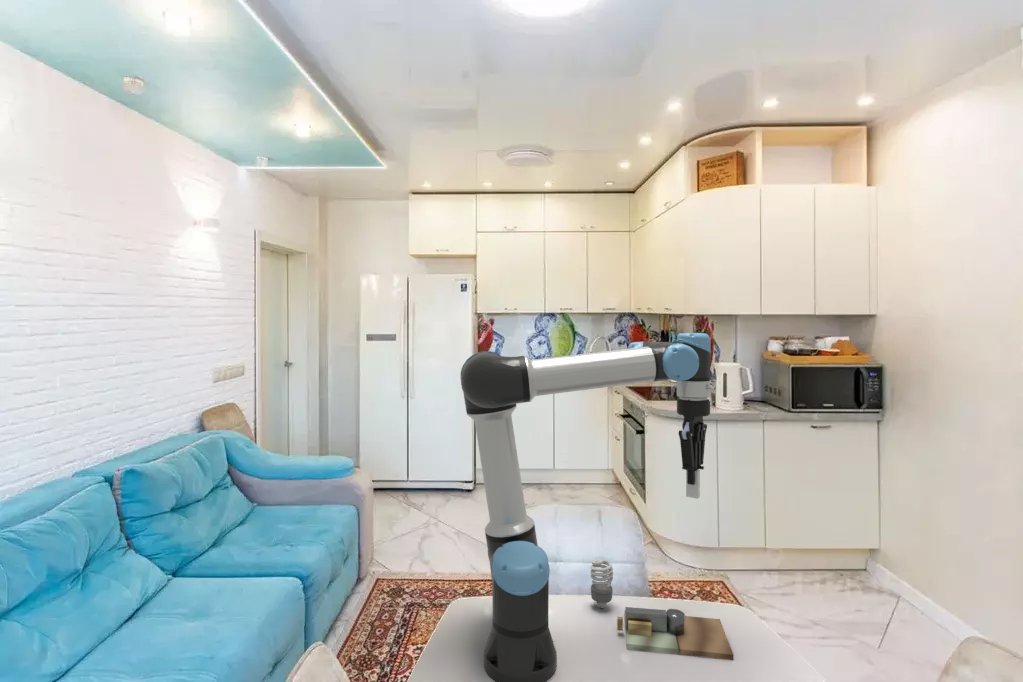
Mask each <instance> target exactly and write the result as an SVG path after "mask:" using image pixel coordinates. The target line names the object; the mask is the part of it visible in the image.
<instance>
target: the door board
mask: <svg viewBox="0 0 1023 682" xmlns="http://www.w3.org/2000/svg"><path fill="white" fill-rule="evenodd" d="M624 617H625V612H624ZM624 617H623V616H617V617H616V620H617V621H616V624H617V625H616V627H617V628H616V630H617V631H623V630H624V629H625V645H626V650H631V651H632V650H633V651H640V652H649V653H657V654H658V653H661V654H669V655H680V656H689V657H699V658H708V659H716V660H725V661H726V660H728V661H734V656H735V655H734V652H733V650H732V648H731V644H730V642H729V640H728V636H727V635H726V632H725V629H724V627H723V624H722V621H721V620H720V618H712V617H711V618H710V617H702V616H690V615H685V623H684V633H683V634H682V635H673V634H671V633H669V632H663V631H651V622H641V621H630V620H628V629H627V628H626V624H625V623H623V622H624V621H623V620H624ZM624 627H625V628H624Z"/></svg>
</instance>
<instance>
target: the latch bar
mask: <svg viewBox="0 0 1023 682" xmlns="http://www.w3.org/2000/svg"><path fill="white" fill-rule="evenodd" d="M624 613H625V616H624V625H625V624H626V628H627V629H628V620H630V621H641V622H651V631H663V632H669V633H671V634H673V635H682V634H683V633H684V623H685V616H686V614H685V613H684V611H683V610H680V609H677V608H669V609H667V610H666V609H658V608H657V609H656V608H644V607H643V608H642V607H632V606H631V607H630V606H625V610H624Z"/></svg>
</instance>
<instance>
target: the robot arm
mask: <svg viewBox="0 0 1023 682" xmlns="http://www.w3.org/2000/svg"><path fill="white" fill-rule="evenodd" d="M711 349H712V348H711V337H710V336H709V335H708V334H707V333H705V332H704V333H703V332H702V333H700V332H699V333H697V332H696V333H695V332H692V333H691V332H686V333H683V332H682V333H680V332H679V333H678V334H677V336H676V340H675V341H642V340H641V341H634V342H631V343H629V344H628V346H627V348H625V349H615V350H607V351H606V350H605V351H598V352H588V353H581V354H572V355H571V354H570V355H569V354H568V355H561V356H552V357H545V358H536V359H535V358H534V359H530V358H529V357H527V356H526V355H518V356H503V355H501V354H500V353H498V352H494V351H491V350H486V351H479V352H476V353H474V354H472V355H470V357H468V358H467V359H466V360H465V362H464V363H463V365H462V367H461V369H460V370H461V371H460V384H461V385H460V386H461V389H462V393H463V398H464V404H465V411H466V415H467V416H468V417H470V418H471V419H472V420H473V421H474V426H475V433H476V439H477V446H478V452H479V459H480V460H479V461H480V464H481V465H480V466H481V471H482V478H483V483H484V490H485V497H486V503H487V509H488V516H489V522H488V523H487V524H486V525H485V527H484V534H485V540H486V547H487V556H488V561H489V566H490V567H489V568H490V577H491V588H492V626H491V629H490V633H489V635H488V639H487V642H486V645H485V648H484V653H483V667H484V670H485V672H486V673H487V675H488V677H490V678H491V679H492V680H494V681H496V682H546V681H547V680H549V679H550V678H551V677H553V676H554V675H555V673H556V670H557V665H558V663H557V661H558V660H557V659H558V655H557V654H558V653H557V650H556V646H555V643H554V639H553V636H552V634H551V631H550V628H549V594H550V593H549V588H550V587H549V585H550V584H549V583H550V581H549V578H550V571H551V570H550V564H549V558H548V557H549V556H548V555H547V553H546V551H545V550H544V549H543V548H542V547H541V546H539V545H538V538H537V533H536V526H535V520H534V519H533V518H532V517H531V516H529V515H528V514H527V510H526V503H525V497H524V490H523V484H522V477H521V470H520V463H519V456H518V451H517V443H516V437H515V429H514V425H513V417H512V414H513V412H514V411H515V409H516V408H517V404H518V405H519V404H523V403H530V402H532V401H533V399H534V398H535V397H539V396H548V395H556V394H563V393H571V392H578V391H587V390H594V389H604V388H610V387H618V386H627V385H633V384H643V383H644V384H645V383H650V382H652V383H653V382H662V381H675V382H676V396H677V397H678V398H677V399H676V413H677V414H678V415H680V416H683V422H682V427H681V428H682V430H679V431H678V437H679V443H680V451H681V452H680V453H681V463H682V465H681V466H682V467H681V469H682V470H685V471H686V473H685V479H686V482H685V483H686V484H685V489H686V490H685V497H688V498H692V499H699V498H700V494H701V492H700V491H701V490H700V488H701V485H700V484H701V482H700V481H701V478H700V477H701V470H704V469H705V466H703V465H704V458H705V457H704V455H705V445H706V434H707V433H706V432H707V429H708V425H707V424H706V423H704V418H703V417H707V416H710V414H711V400H710V399H709V398H710V397H711V390H713V385H712V384H711V359H712V357H711V356H712V355H711V354H712V351H711Z"/></svg>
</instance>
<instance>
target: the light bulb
mask: <svg viewBox="0 0 1023 682" xmlns="http://www.w3.org/2000/svg"><path fill="white" fill-rule="evenodd" d="M591 564H592V565H590V572H589V573H590V579H591V583H592V584H591V585H590V586H591V587H590V595H591V596H590V597H591V599H592V600H593V601H594V602H595V603H596V606H597V607H599V608H600V609H603V608H606V607H607V604H608V603H609V602H611V601H612V599H613V592H614V591H613V587H612V581H613V580H614V572H613V571H614V568H613V565H612V563H611V562H610V561H609V560H608V559H594V560H592V561H591Z"/></svg>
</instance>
